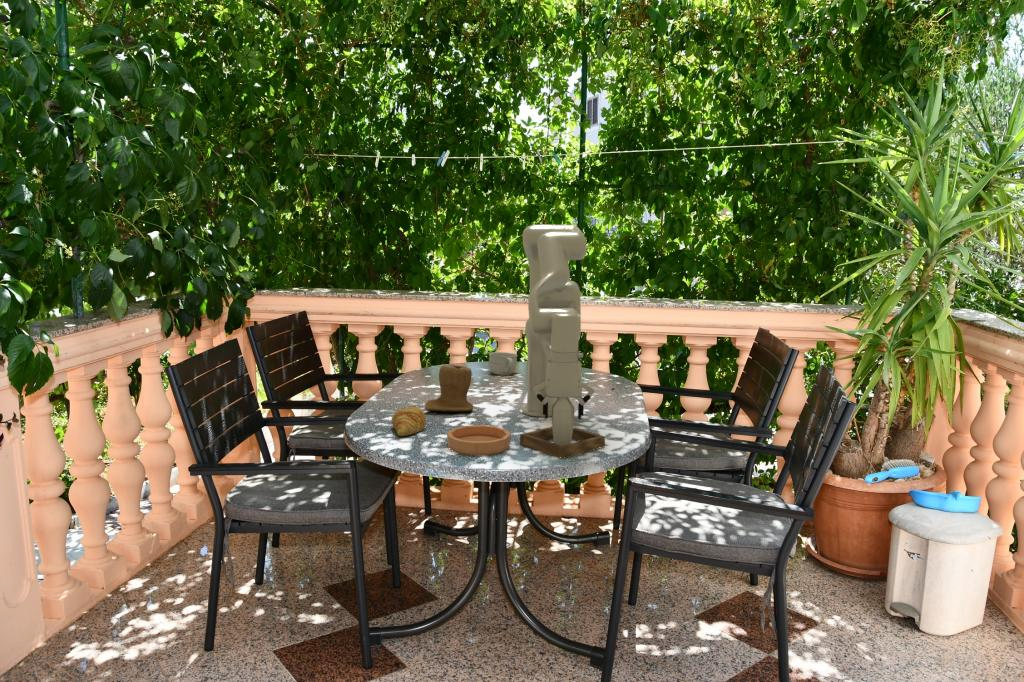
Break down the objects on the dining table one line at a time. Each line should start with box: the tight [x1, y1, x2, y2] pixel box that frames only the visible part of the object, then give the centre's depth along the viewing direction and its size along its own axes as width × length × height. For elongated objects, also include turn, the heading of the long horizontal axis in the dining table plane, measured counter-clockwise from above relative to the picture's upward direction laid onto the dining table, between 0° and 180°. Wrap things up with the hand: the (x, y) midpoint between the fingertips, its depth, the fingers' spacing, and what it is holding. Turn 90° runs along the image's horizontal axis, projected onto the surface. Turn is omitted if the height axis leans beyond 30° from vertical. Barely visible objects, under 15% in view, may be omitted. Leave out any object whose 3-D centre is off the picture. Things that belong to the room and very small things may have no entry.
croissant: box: [391, 405, 426, 437], centre depth 259 cm, size 21×10×8 cm, turn 175°
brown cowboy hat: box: [424, 364, 474, 413], centre depth 280 cm, size 15×12×15 cm
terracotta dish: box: [446, 424, 512, 456], centre depth 243 cm, size 17×17×4 cm
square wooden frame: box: [519, 426, 606, 459], centre depth 244 cm, size 17×17×3 cm
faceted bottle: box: [551, 398, 575, 446], centre depth 242 cm, size 6×6×22 cm
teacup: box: [488, 351, 518, 376], centre depth 334 cm, size 14×11×8 cm
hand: (562, 417), depth 243 cm, fingers open, 8 cm apart
